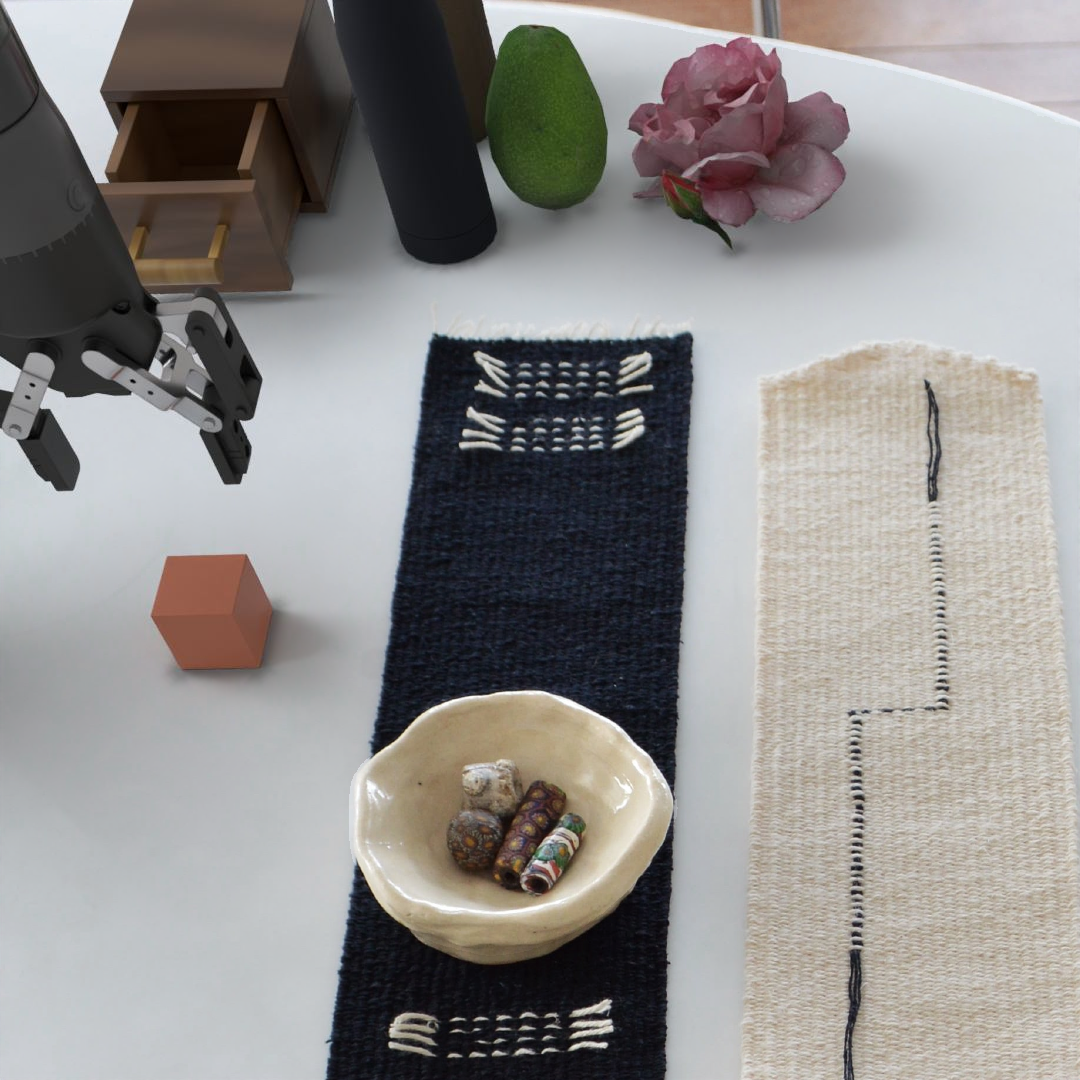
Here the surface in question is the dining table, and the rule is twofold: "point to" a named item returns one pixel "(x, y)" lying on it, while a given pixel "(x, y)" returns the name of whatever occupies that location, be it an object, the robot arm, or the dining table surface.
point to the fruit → (545, 119)
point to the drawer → (205, 194)
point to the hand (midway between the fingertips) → (153, 476)
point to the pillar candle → (471, 55)
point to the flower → (738, 140)
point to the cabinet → (242, 70)
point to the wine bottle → (417, 125)
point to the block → (212, 611)
